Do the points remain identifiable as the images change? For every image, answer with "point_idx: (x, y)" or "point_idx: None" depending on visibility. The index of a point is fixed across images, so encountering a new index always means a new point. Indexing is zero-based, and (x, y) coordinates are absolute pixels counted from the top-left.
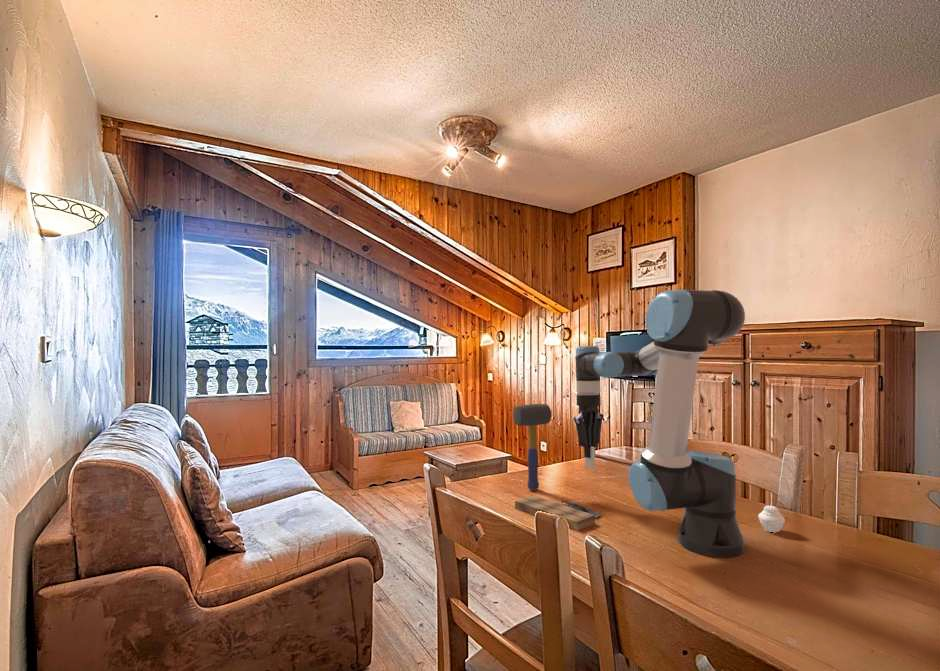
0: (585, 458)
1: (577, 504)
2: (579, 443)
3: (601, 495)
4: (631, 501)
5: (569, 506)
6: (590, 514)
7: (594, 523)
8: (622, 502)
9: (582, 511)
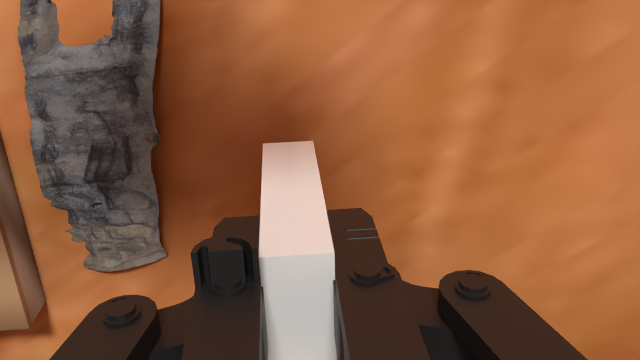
0: (262, 186)
1: (142, 93)
2: (79, 328)
3: (468, 32)
4: (491, 216)
5: (105, 48)
6: (15, 311)
7: (42, 301)
8: (438, 197)
9: (6, 260)
